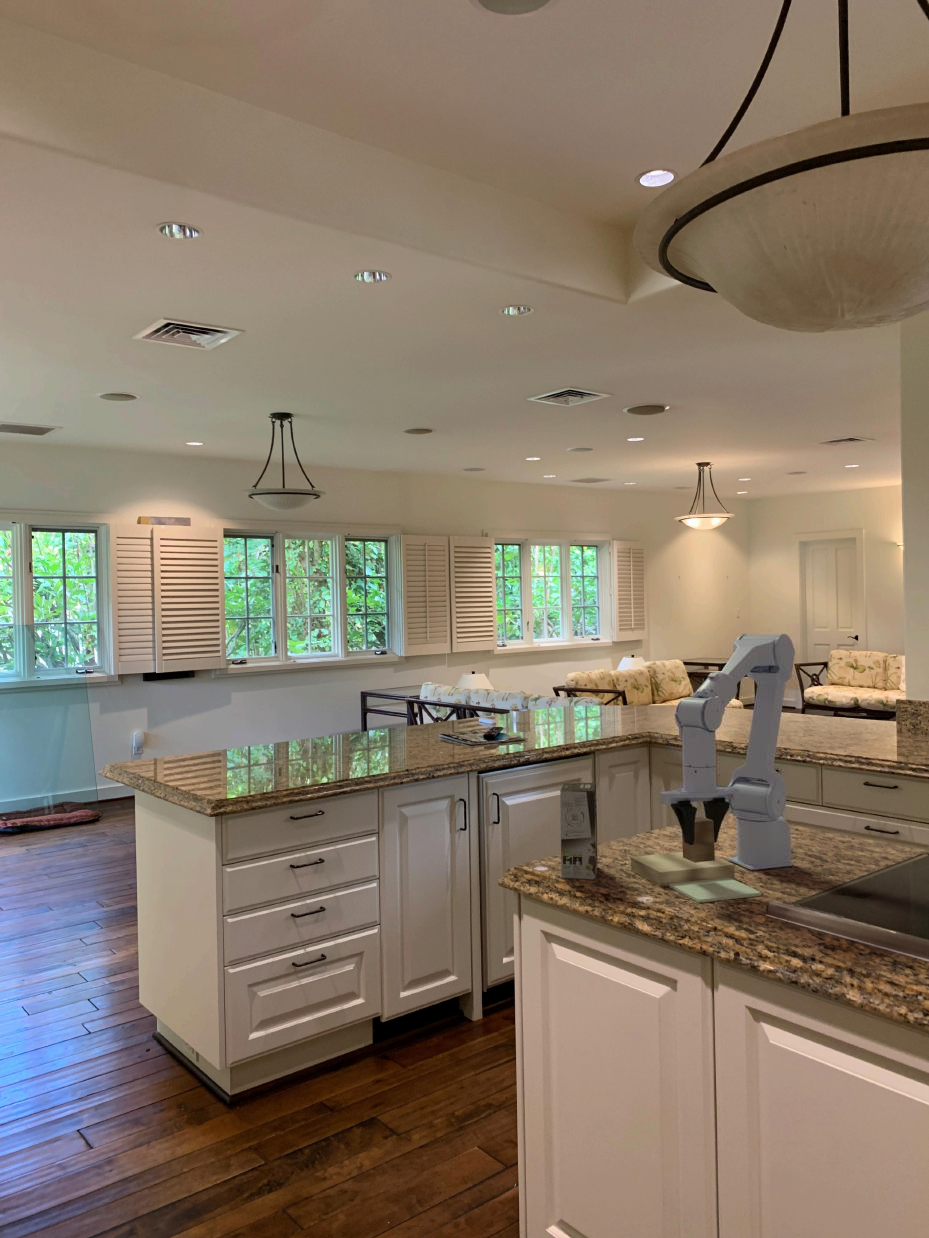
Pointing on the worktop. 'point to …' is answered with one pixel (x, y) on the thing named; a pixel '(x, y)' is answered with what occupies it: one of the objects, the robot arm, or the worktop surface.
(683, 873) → the maple board
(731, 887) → the green mat
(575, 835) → the coffee box
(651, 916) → the worktop surface
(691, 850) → the walnut block
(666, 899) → the worktop surface
